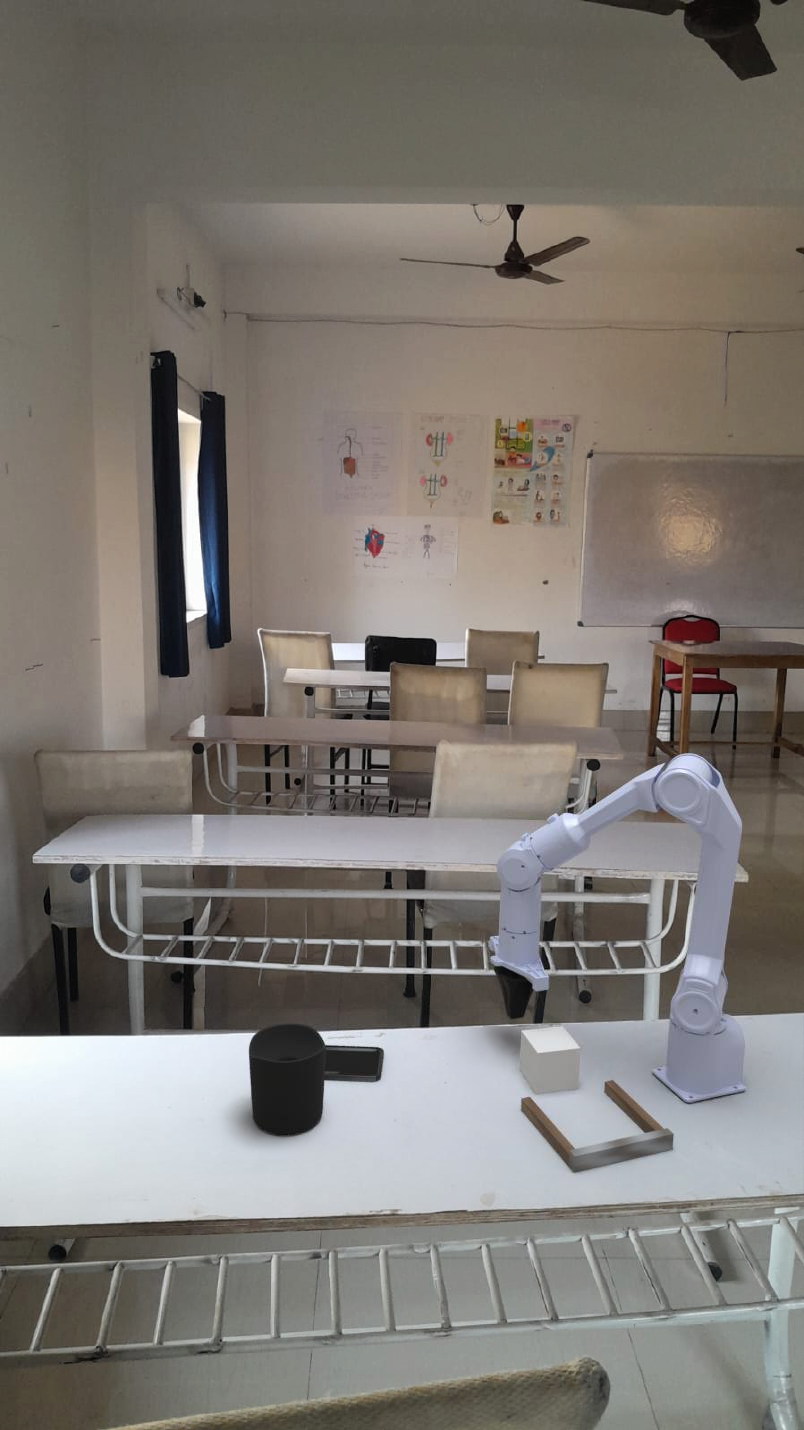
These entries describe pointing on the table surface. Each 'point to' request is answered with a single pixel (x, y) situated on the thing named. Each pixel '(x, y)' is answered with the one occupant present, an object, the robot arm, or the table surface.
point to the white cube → (549, 1060)
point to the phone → (353, 1063)
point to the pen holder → (287, 1078)
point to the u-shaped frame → (608, 1151)
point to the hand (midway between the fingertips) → (515, 1016)
